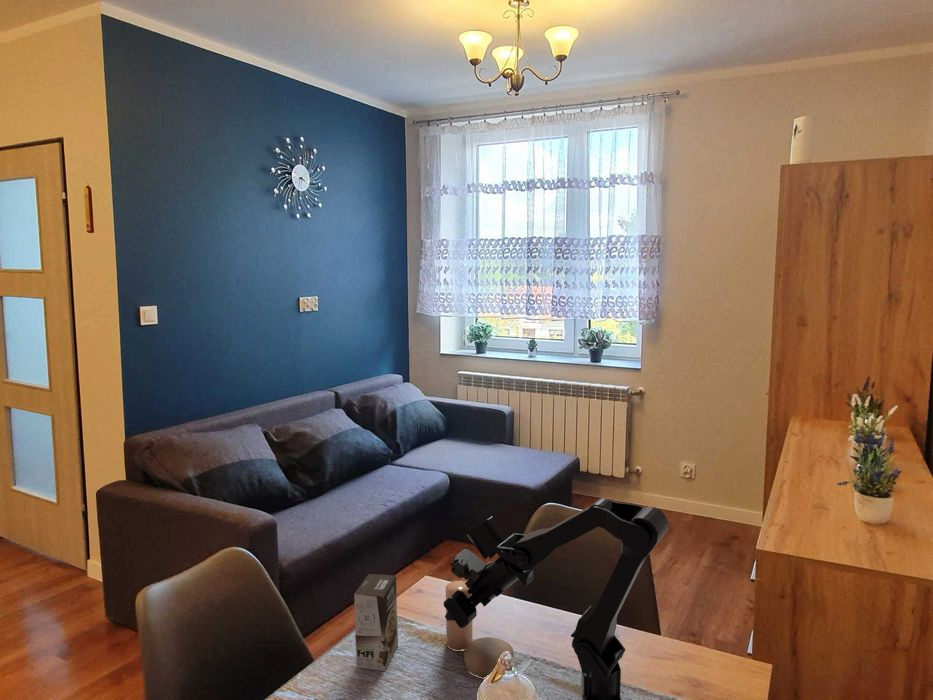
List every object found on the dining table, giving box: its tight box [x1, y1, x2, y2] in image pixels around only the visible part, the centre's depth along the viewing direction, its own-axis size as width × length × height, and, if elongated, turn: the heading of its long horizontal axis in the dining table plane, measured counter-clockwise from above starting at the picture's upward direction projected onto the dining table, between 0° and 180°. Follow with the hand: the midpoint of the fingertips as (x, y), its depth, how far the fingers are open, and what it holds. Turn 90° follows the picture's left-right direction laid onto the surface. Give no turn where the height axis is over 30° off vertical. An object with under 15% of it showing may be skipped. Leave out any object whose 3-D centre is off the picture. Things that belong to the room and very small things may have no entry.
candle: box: [445, 580, 474, 650], centre depth 140 cm, size 6×6×13 cm
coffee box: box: [353, 573, 399, 672], centre depth 136 cm, size 9×6×16 cm
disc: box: [463, 636, 514, 678], centre depth 134 cm, size 10×10×3 cm
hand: (453, 611), depth 141 cm, fingers closed on candle, 6 cm apart
